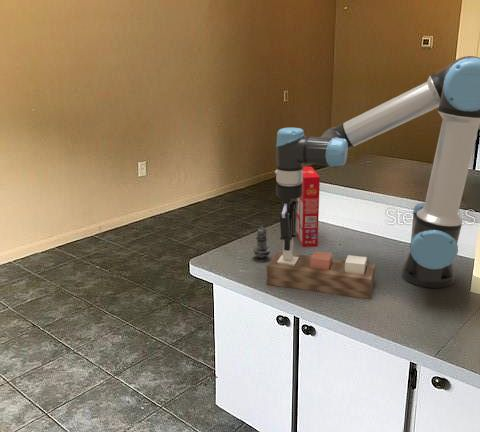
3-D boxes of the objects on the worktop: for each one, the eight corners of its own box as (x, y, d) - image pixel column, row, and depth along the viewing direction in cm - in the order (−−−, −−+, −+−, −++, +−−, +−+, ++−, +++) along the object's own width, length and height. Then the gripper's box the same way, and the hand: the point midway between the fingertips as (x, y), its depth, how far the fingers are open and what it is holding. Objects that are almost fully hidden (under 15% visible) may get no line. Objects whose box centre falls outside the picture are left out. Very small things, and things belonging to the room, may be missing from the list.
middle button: (331, 266, 160) (332, 253, 158) (328, 273, 155) (328, 260, 153) (313, 263, 161) (314, 251, 160) (310, 271, 156) (310, 257, 155)
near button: (365, 270, 156) (366, 257, 155) (363, 278, 152) (364, 264, 150) (347, 268, 158) (348, 255, 157) (344, 275, 153) (345, 262, 152)
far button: (298, 269, 164) (299, 257, 162) (294, 277, 159) (294, 264, 157) (281, 267, 165) (281, 254, 164) (276, 274, 161) (277, 261, 159)
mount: (373, 282, 160) (375, 263, 158) (369, 298, 150) (371, 279, 148) (276, 269, 169) (277, 252, 167) (266, 284, 159) (266, 265, 158)
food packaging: (317, 246, 187) (319, 177, 179) (302, 247, 187) (304, 177, 178) (309, 231, 201) (311, 166, 193) (295, 232, 201) (297, 167, 192)
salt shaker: (261, 254, 181) (261, 220, 177) (274, 259, 177) (274, 224, 173) (249, 259, 177) (248, 225, 173) (262, 264, 173) (262, 229, 169)
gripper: (282, 176, 160) (281, 249, 168) (270, 187, 148) (269, 265, 156) (307, 178, 158) (305, 252, 165) (296, 190, 146) (294, 269, 154)
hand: (287, 258), depth 161 cm, fingers closed
